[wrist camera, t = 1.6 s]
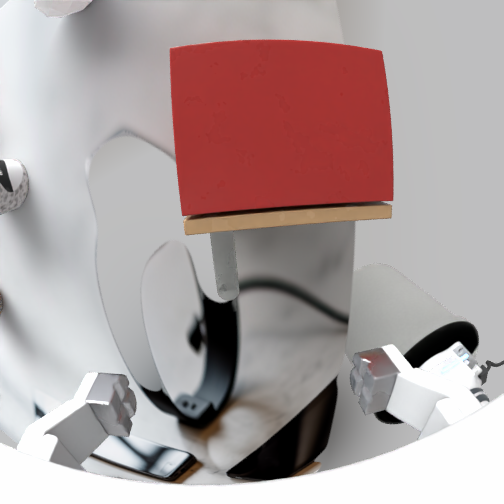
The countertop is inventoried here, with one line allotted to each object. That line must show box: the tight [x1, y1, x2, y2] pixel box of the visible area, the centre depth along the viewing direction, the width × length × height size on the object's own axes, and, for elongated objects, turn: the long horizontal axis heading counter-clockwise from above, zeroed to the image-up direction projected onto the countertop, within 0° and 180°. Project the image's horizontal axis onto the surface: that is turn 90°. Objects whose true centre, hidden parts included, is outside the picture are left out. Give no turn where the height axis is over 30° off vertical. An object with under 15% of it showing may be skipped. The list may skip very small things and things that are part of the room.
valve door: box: [184, 201, 392, 300], centre depth 23 cm, size 6×12×15 cm, turn 94°
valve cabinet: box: [170, 40, 393, 216], centre depth 20 cm, size 9×12×16 cm
